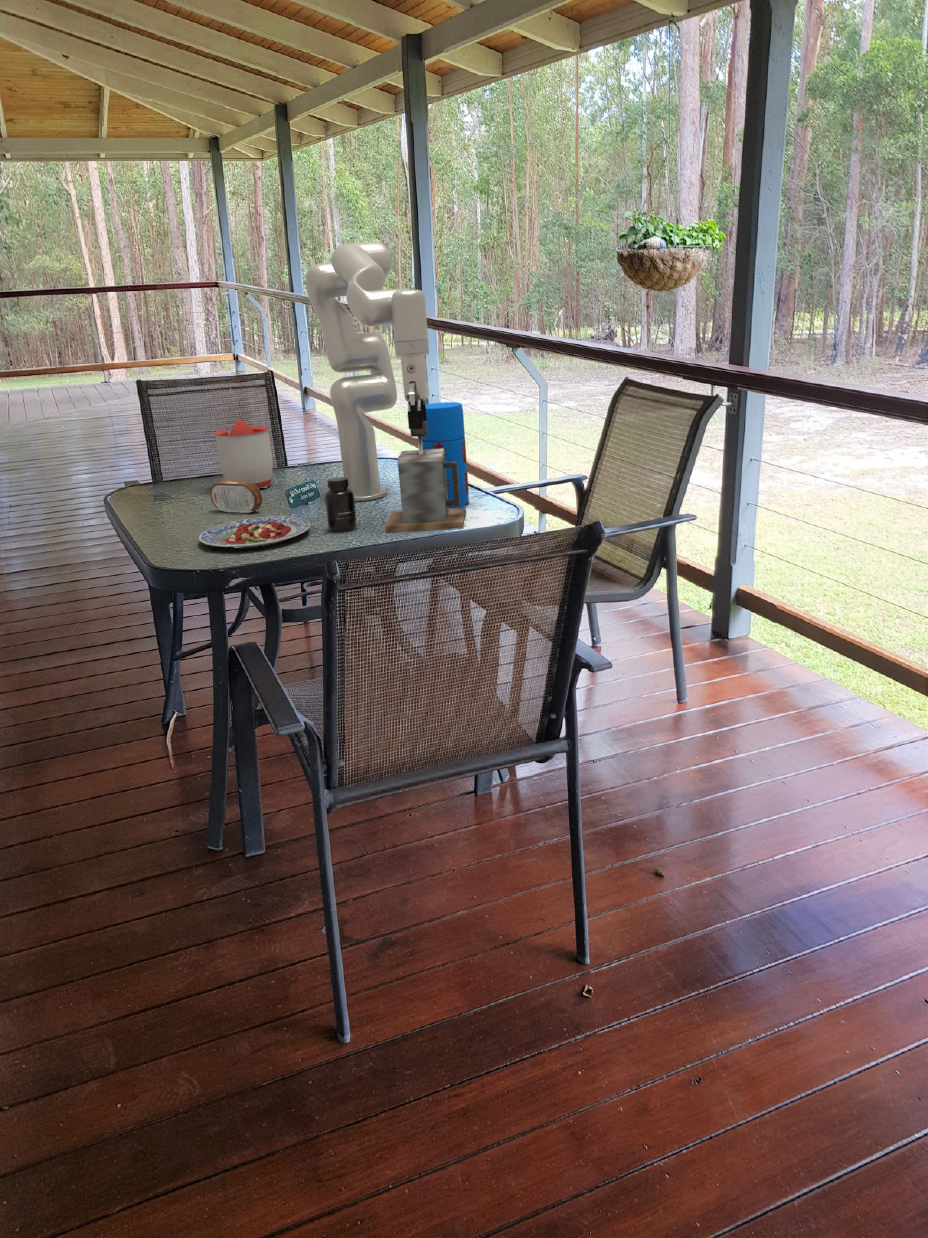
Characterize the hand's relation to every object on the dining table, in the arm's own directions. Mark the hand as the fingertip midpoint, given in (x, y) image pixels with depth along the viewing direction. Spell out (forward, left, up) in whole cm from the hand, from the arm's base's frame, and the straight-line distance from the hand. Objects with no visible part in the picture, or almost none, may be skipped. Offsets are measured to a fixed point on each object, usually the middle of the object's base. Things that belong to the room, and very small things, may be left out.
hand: (418, 425), depth 221 cm
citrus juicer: (-57, +54, -23) cm, 82 cm away
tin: (-52, +23, -23) cm, 61 cm away
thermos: (+4, +17, -23) cm, 29 cm away
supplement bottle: (-20, -1, -23) cm, 31 cm away
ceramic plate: (-40, -5, -24) cm, 47 cm away
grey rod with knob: (0, 0, -20) cm, 20 cm away
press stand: (0, 0, -23) cm, 23 cm away
